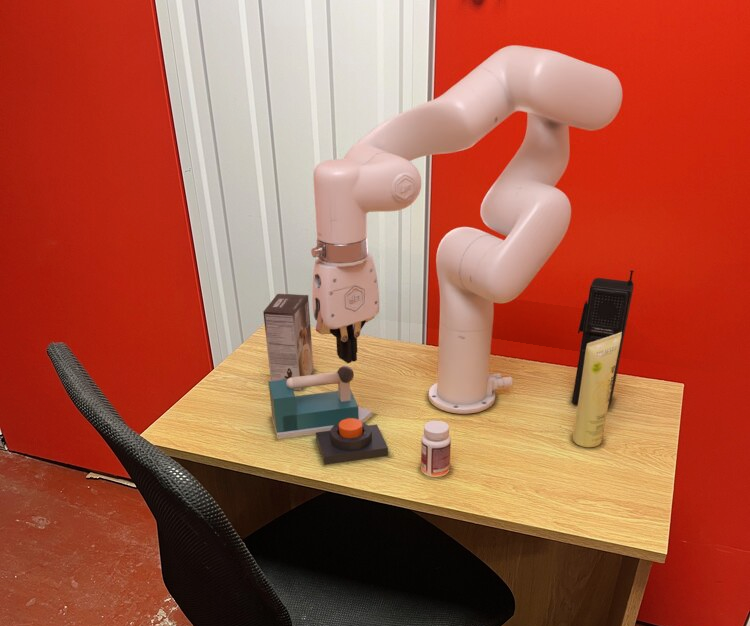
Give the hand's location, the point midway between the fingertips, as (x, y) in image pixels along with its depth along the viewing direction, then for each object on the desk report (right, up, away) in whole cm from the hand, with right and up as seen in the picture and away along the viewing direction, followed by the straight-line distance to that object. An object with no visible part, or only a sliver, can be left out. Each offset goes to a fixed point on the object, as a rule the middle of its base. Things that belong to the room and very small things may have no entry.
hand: (347, 359), depth 128 cm
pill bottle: (+14, -19, 0) cm, 24 cm away
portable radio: (+45, -5, +18) cm, 49 cm away
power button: (0, -12, +4) cm, 13 cm away
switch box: (0, -14, +6) cm, 16 cm away
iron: (-5, -9, +13) cm, 17 cm away
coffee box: (-12, +1, +27) cm, 29 cm away
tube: (+41, -13, +7) cm, 44 cm away
